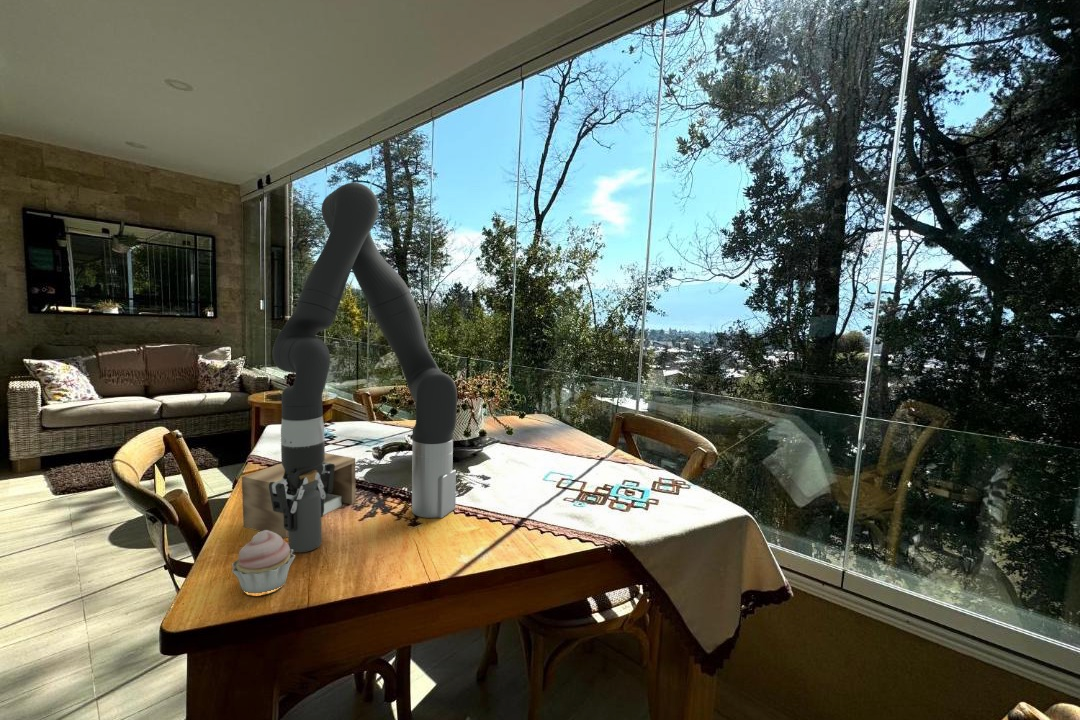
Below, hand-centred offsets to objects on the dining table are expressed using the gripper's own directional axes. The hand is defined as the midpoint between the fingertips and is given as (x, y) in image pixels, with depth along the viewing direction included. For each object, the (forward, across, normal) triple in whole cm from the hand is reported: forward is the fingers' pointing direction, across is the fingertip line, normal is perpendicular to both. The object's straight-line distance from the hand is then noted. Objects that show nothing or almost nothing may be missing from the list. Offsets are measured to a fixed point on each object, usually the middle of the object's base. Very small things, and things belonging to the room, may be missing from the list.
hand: (304, 523), depth 95 cm
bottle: (+5, 0, 0) cm, 5 cm away
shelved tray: (+5, +11, +12) cm, 17 cm away
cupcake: (+5, -13, -5) cm, 15 cm away
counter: (+5, +11, +12) cm, 17 cm away
